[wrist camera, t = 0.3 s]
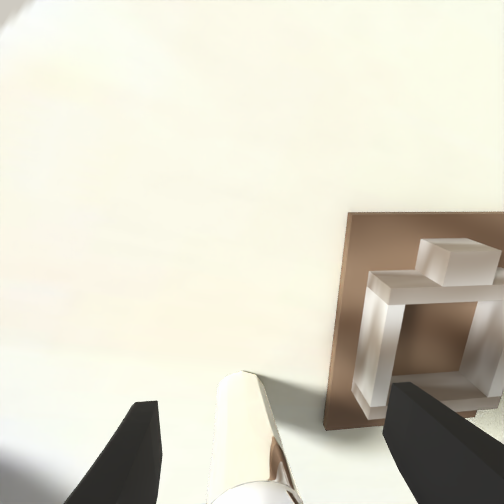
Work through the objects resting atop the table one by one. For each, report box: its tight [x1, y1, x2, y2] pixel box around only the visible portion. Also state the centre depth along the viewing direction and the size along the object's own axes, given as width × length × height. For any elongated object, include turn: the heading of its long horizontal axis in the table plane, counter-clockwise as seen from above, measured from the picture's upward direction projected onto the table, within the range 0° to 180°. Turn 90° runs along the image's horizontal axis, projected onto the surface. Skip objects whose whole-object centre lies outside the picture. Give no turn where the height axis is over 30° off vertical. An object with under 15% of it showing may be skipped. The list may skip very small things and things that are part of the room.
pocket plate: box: [323, 212, 504, 431], centre depth 20 cm, size 16×12×3 cm
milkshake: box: [206, 371, 303, 504], centre depth 17 cm, size 4×5×10 cm
